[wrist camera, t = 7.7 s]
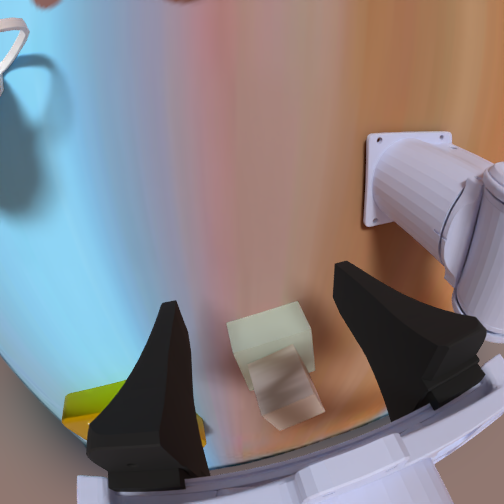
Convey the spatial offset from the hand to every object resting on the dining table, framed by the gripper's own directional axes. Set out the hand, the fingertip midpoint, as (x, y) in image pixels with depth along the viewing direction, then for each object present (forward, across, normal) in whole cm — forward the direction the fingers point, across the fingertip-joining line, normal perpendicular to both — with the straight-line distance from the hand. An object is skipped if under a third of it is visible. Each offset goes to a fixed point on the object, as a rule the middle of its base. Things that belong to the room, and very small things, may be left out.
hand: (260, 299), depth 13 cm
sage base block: (+11, -2, +15) cm, 18 cm away
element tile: (+11, +17, +26) cm, 33 cm away
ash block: (+7, -2, +15) cm, 17 cm away
